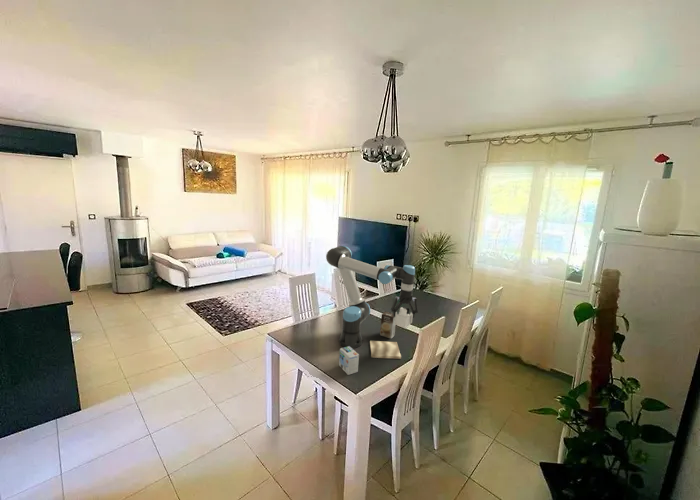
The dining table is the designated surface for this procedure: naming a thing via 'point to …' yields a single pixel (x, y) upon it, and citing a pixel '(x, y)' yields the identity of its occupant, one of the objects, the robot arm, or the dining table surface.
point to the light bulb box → (348, 360)
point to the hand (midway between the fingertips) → (402, 321)
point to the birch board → (384, 349)
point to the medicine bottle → (403, 317)
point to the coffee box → (387, 325)
